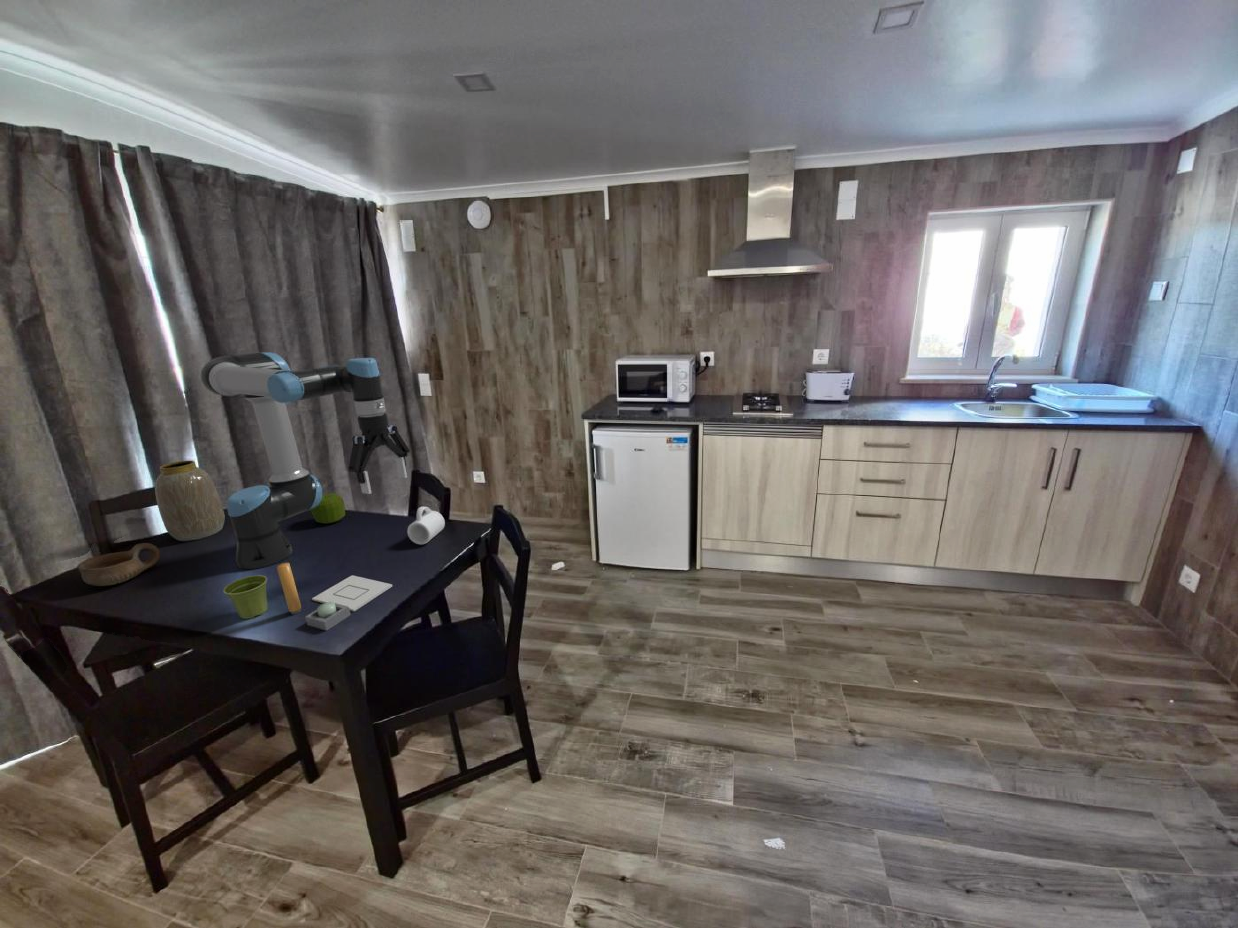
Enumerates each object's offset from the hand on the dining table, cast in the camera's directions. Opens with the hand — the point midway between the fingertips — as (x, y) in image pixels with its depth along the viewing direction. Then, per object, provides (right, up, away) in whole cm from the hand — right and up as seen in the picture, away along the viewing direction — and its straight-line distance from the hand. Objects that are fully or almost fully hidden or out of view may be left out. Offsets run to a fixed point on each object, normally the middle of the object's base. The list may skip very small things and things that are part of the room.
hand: (385, 485), depth 146 cm
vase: (-87, -20, +38) cm, 97 cm away
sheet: (-6, -30, -6) cm, 32 cm away
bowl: (-85, -29, +9) cm, 90 cm away
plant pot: (-29, -34, -13) cm, 47 cm away
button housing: (-6, -34, -18) cm, 39 cm away
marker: (-18, -33, -14) cm, 40 cm away
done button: (-6, -33, -18) cm, 38 cm away
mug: (+2, -20, +27) cm, 33 cm away
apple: (-42, -16, +45) cm, 63 cm away
